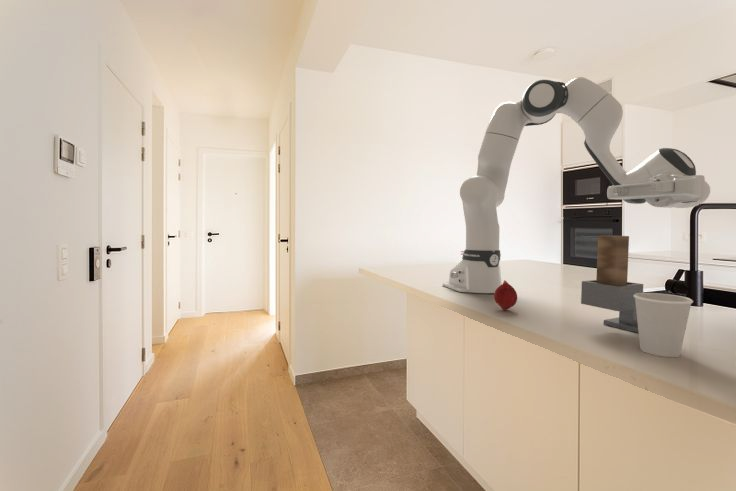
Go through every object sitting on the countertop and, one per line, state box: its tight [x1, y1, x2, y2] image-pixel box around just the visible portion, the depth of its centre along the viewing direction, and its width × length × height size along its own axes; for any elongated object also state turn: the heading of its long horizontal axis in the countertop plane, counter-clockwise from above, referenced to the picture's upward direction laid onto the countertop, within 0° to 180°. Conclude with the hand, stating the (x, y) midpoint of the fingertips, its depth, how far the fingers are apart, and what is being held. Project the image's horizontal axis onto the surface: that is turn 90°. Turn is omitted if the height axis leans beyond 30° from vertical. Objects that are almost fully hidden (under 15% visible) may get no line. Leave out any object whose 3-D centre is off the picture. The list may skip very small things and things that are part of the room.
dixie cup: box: [633, 292, 694, 358], centre depth 66 cm, size 8×8×10 cm
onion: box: [493, 279, 518, 311], centre depth 99 cm, size 6×6×8 cm
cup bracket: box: [580, 279, 644, 334], centre depth 81 cm, size 8×14×10 cm, turn 115°
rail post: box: [595, 235, 630, 286], centre depth 79 cm, size 4×4×14 cm
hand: (633, 188), depth 93 cm, fingers open, 8 cm apart
